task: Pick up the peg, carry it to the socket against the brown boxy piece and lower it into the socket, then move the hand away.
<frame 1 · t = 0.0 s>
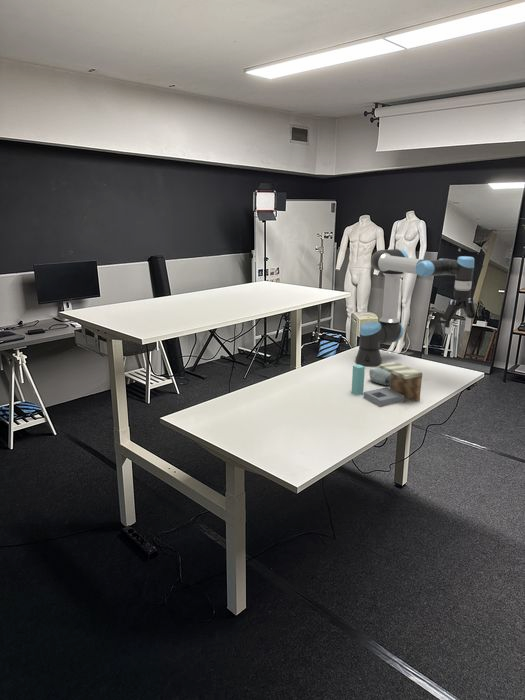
hand: (457, 332, 233), 28 cm above the table, fingers open, 13 cm apart
brown boxy piece: (404, 394, 228), on the table
spool: (381, 383, 244), on the table
peg: (357, 393, 230), on the table
socket: (383, 399, 223), on the table
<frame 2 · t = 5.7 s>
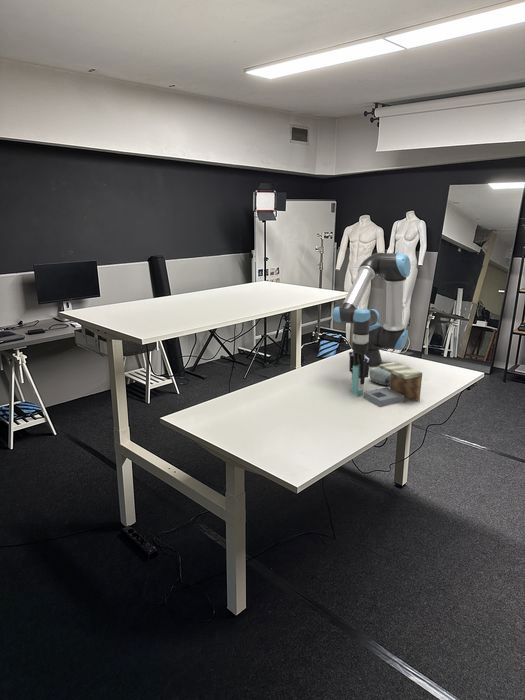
hand: (357, 388, 230), 3 cm above the table, fingers closed on peg, 4 cm apart
peg: (357, 393, 230), on the table, touching gripper
everything else where it was.
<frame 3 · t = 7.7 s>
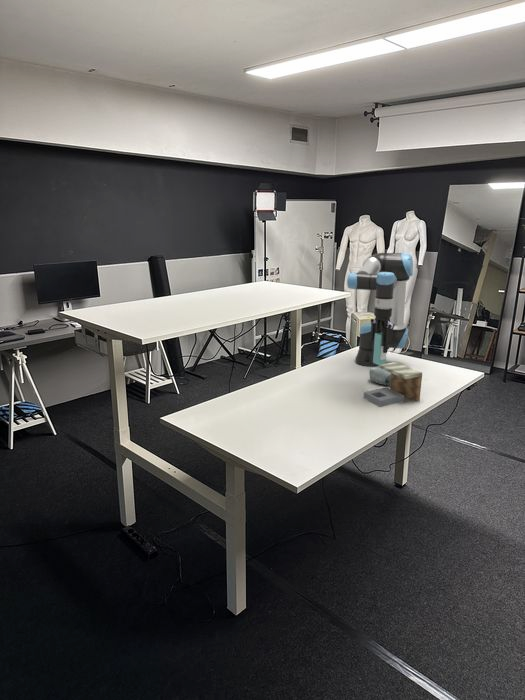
hand: (379, 357, 216), 21 cm above the table, fingers closed on peg, 4 cm apart
peg: (379, 363, 217), point 18 cm above the table, touching gripper
everything else where it was.
when the fingers open (4 cm above the table, at t = 10.1 s): peg drops 1 cm, resting in socket.
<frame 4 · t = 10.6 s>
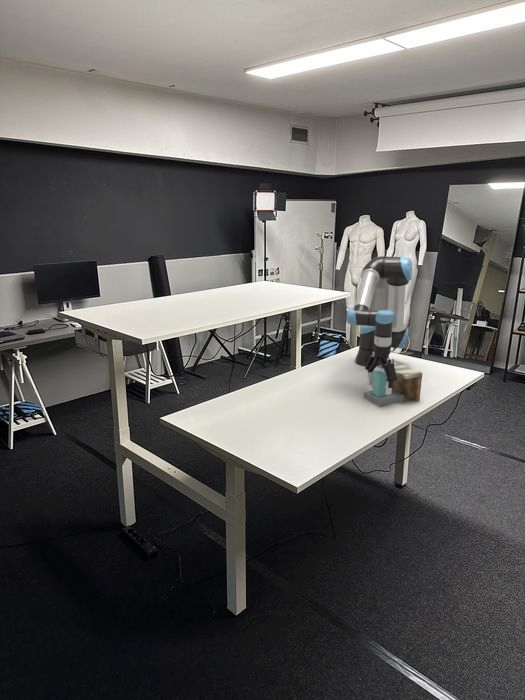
hand: (379, 389, 220), 6 cm above the table, fingers open, 12 cm apart
peg: (378, 400, 221), resting in socket
everything else where it was.
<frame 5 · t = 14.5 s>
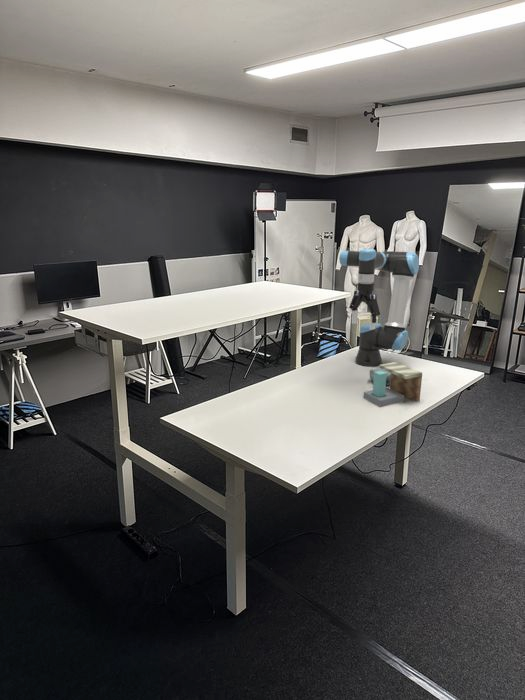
hand: (363, 326, 229), 32 cm above the table, fingers open, 13 cm apart
nothing on the table moved.
at the end: peg 0.0 cm from the target spot on the socket, point 0.0 cm above the socket's base; peg tilted 0°; the gripper is holding nothing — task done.
